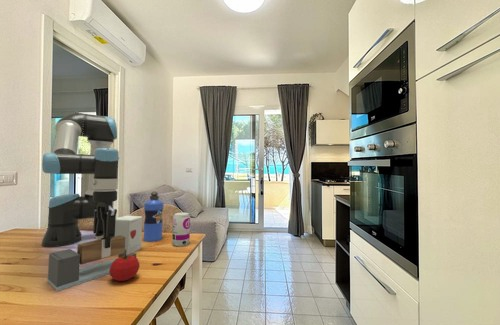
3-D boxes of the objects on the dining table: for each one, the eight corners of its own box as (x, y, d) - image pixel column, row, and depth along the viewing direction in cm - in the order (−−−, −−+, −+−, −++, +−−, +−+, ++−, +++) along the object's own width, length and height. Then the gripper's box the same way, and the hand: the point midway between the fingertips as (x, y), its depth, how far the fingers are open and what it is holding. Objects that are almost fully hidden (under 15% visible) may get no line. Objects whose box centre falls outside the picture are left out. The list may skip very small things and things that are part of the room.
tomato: (136, 283, 72) (137, 258, 73) (105, 287, 70) (106, 260, 70) (141, 271, 81) (142, 249, 81) (113, 274, 78) (114, 251, 79)
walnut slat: (76, 261, 76) (77, 243, 77) (119, 250, 88) (120, 235, 88) (81, 264, 74) (82, 246, 74) (124, 252, 86) (125, 236, 86)
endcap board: (47, 281, 73) (48, 253, 73) (123, 258, 92) (124, 236, 93) (57, 291, 67) (58, 260, 67) (136, 264, 87) (137, 241, 87)
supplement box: (127, 255, 96) (129, 220, 96) (109, 253, 98) (111, 218, 98) (142, 248, 105) (143, 216, 105) (125, 247, 106) (126, 215, 107)
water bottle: (139, 240, 116) (140, 192, 117) (152, 235, 125) (154, 190, 126) (153, 242, 113) (154, 192, 114) (166, 237, 122) (167, 191, 123)
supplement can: (192, 242, 114) (193, 213, 114) (181, 247, 106) (182, 215, 107) (180, 240, 117) (181, 211, 118) (168, 245, 110) (169, 214, 110)
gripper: (84, 189, 84) (81, 253, 83) (104, 192, 74) (101, 264, 73) (106, 188, 90) (103, 248, 89) (127, 191, 81) (125, 257, 79)
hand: (102, 255), depth 81 cm, fingers closed on walnut slat, 4 cm apart
